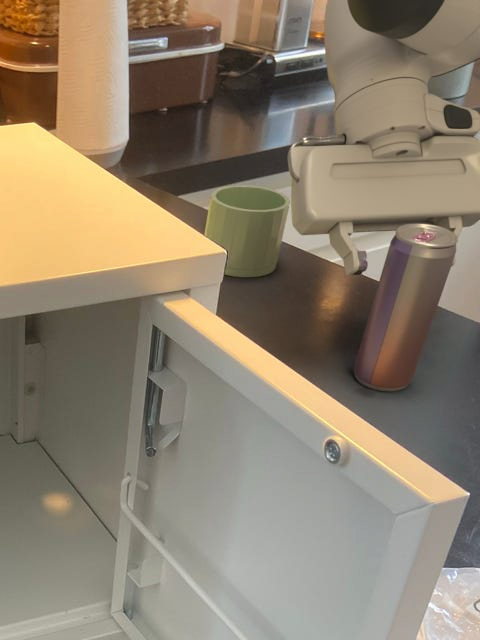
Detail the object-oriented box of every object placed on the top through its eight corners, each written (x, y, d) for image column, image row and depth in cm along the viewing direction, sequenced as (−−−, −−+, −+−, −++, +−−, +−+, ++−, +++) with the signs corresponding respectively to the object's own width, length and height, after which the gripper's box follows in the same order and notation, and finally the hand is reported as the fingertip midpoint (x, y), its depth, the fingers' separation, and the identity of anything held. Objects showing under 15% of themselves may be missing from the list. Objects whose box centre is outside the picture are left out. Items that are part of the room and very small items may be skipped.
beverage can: (341, 379, 99) (383, 233, 89) (368, 361, 103) (411, 218, 92) (394, 399, 96) (444, 250, 86) (420, 379, 100) (470, 234, 89)
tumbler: (268, 249, 126) (281, 186, 120) (282, 278, 119) (297, 212, 113) (196, 247, 126) (206, 184, 120) (206, 276, 119) (217, 210, 113)
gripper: (300, 118, 90) (318, 261, 89) (495, 112, 93) (513, 251, 92) (271, 154, 96) (288, 289, 96) (455, 148, 99) (472, 278, 99)
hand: (400, 270), depth 94 cm, fingers open, 8 cm apart
